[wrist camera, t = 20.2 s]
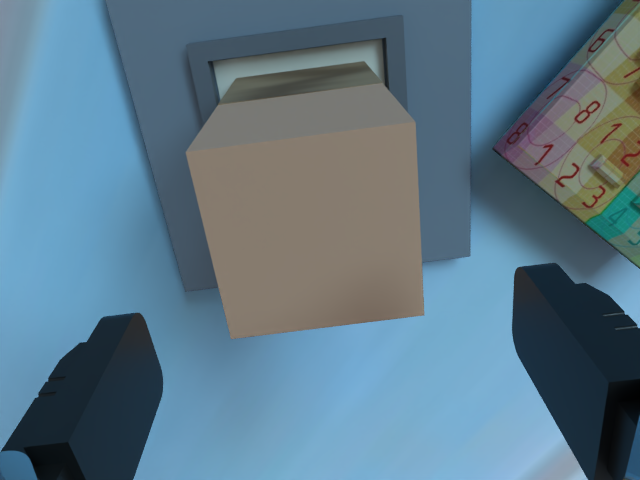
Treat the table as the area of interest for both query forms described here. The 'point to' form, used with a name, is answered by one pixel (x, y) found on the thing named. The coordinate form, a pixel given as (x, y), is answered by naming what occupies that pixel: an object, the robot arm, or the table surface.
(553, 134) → the puzzle game
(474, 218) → the table surface
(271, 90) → the walnut block
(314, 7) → the slate gray baseplate
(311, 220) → the beige cube
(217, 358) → the table surface
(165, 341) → the table surface
